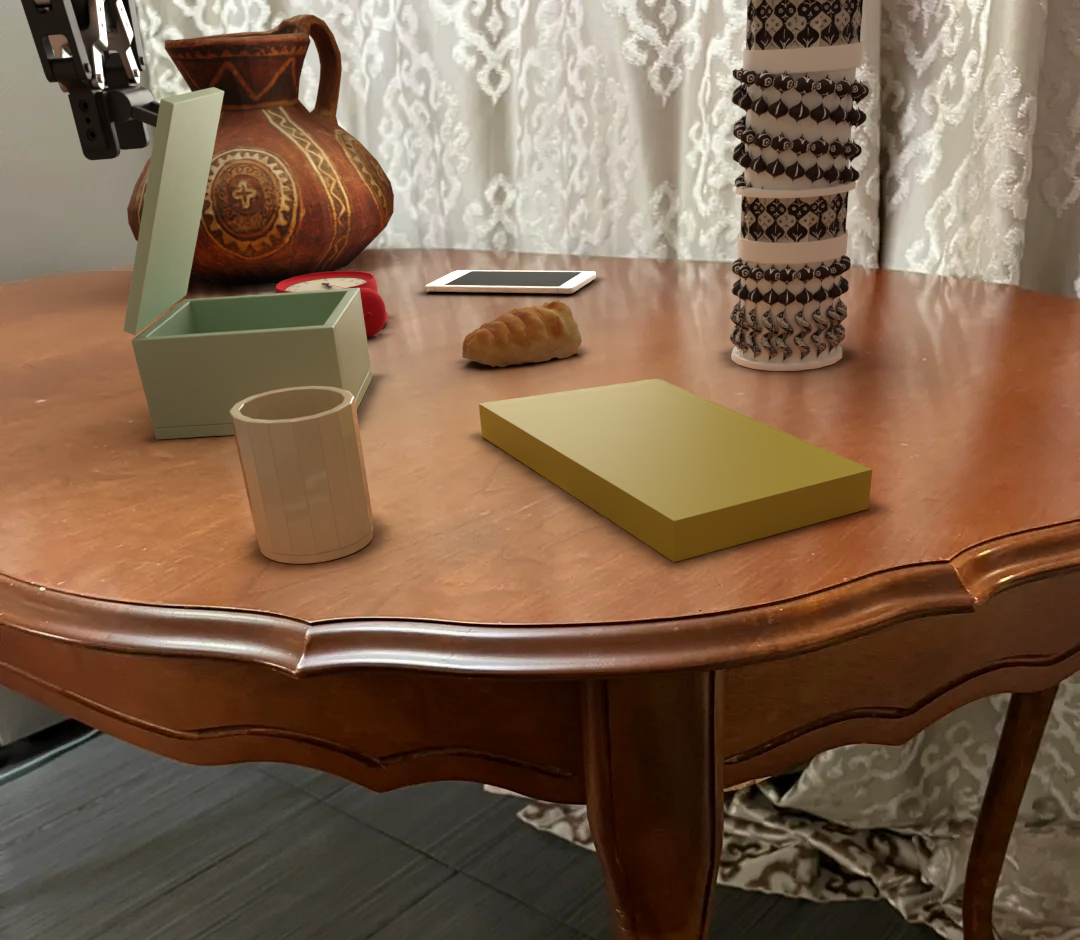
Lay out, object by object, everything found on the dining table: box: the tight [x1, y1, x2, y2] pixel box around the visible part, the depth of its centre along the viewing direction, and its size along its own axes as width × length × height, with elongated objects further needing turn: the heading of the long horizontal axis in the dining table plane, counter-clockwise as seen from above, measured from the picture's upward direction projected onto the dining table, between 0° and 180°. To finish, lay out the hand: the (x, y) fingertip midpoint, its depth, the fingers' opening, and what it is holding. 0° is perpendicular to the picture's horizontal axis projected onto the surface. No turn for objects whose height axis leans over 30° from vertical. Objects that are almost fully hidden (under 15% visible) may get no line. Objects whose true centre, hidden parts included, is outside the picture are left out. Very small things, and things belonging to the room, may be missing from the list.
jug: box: [126, 13, 395, 285], centre depth 125 cm, size 30×30×25 cm
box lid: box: [107, 85, 224, 336], centre depth 75 cm, size 14×13×5 cm
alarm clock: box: [274, 270, 389, 339], centre depth 101 cm, size 10×6×15 cm
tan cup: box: [230, 386, 375, 565], centre depth 59 cm, size 6×6×8 cm
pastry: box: [461, 299, 583, 368], centre depth 90 cm, size 9×7×4 cm
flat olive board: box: [478, 378, 873, 563], centre depth 66 cm, size 12×2×24 cm
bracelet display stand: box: [729, 0, 870, 372], centre depth 79 cm, size 9×9×25 cm
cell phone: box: [425, 269, 597, 295], centre depth 114 cm, size 8×16×1 cm, turn 69°
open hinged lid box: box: [131, 288, 373, 441], centre depth 81 cm, size 14×13×7 cm
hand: (118, 152), depth 74 cm, fingers open, 5 cm apart
